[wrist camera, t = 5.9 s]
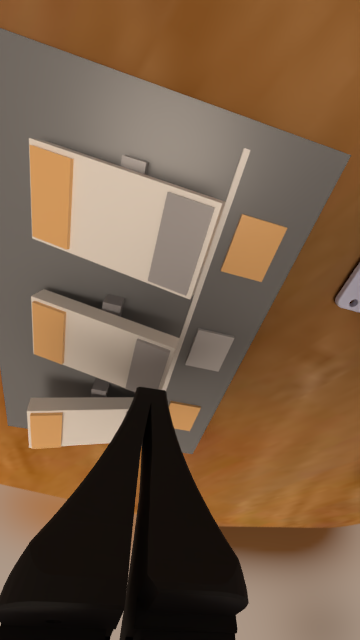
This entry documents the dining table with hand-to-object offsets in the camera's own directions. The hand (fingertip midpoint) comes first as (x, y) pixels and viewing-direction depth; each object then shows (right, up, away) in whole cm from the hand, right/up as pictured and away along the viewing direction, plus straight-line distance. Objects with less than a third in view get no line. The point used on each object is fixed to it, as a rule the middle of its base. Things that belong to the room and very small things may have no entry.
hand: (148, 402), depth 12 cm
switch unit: (-2, +4, +5) cm, 6 cm away
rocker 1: (-1, +8, -1) cm, 8 cm away
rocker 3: (-5, -3, +6) cm, 8 cm away
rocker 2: (-3, +3, +3) cm, 5 cm away
